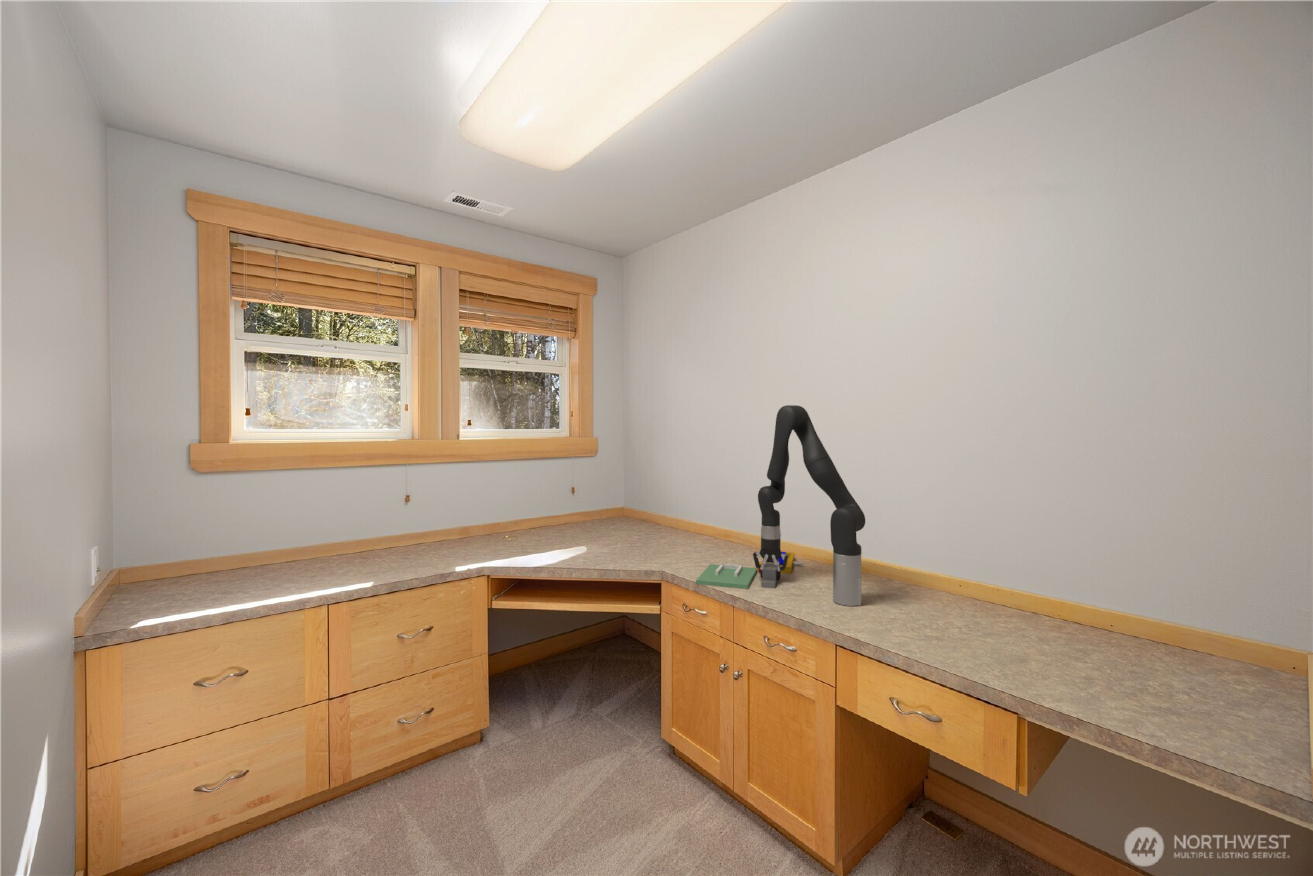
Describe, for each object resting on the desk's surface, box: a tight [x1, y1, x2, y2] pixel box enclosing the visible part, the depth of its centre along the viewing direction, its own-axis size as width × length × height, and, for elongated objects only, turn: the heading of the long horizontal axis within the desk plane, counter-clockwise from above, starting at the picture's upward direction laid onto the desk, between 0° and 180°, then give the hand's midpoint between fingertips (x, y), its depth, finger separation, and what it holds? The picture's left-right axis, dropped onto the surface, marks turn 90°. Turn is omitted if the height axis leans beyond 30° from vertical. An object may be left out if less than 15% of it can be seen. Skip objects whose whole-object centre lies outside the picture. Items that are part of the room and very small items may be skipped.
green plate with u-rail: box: [695, 563, 758, 590], centre depth 213 cm, size 20×24×3 cm
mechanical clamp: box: [757, 551, 804, 575], centre depth 230 cm, size 18×6×30 cm
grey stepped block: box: [760, 563, 778, 589], centre depth 206 cm, size 13×5×6 cm, turn 161°
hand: (770, 579), depth 208 cm, fingers closed on grey stepped block, 5 cm apart
